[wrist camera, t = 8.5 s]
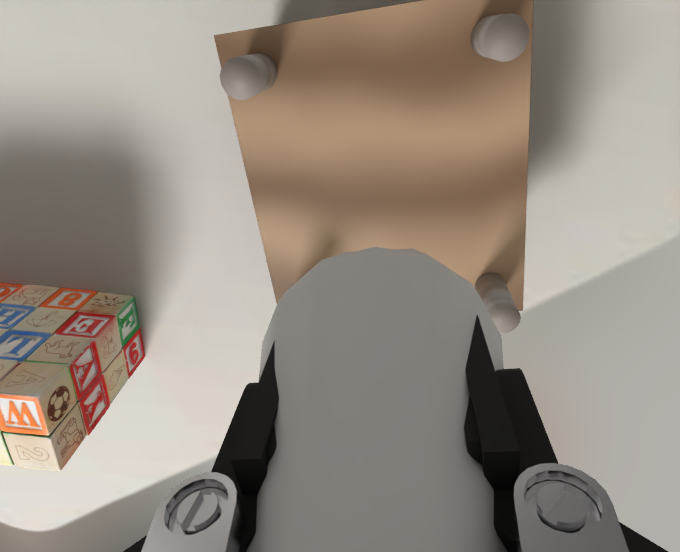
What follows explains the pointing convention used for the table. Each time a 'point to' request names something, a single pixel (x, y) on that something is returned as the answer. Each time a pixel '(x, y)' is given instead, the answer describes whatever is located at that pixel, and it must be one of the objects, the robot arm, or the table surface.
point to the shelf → (390, 138)
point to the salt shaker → (375, 411)
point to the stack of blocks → (60, 368)
